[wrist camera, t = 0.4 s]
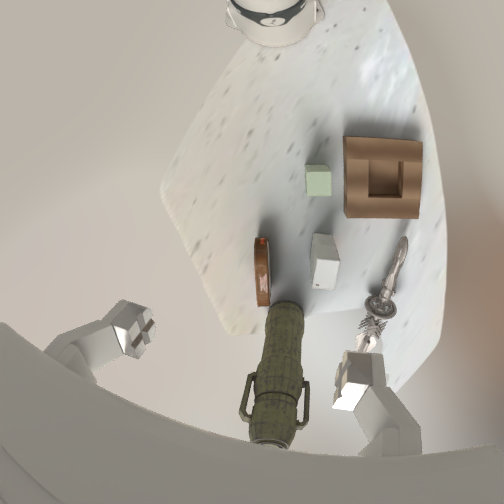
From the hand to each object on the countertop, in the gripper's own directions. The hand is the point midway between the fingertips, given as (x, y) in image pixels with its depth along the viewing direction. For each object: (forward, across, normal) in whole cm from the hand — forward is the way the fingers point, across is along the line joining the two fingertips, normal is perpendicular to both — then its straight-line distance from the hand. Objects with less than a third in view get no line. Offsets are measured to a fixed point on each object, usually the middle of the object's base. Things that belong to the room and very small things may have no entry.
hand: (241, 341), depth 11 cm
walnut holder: (+47, -14, +1) cm, 49 cm away
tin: (+44, +6, +24) cm, 50 cm away
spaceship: (+46, -20, +29) cm, 58 cm away
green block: (+46, -2, +3) cm, 46 cm away
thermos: (+44, 0, +37) cm, 57 cm away
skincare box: (+45, -5, +18) cm, 49 cm away
